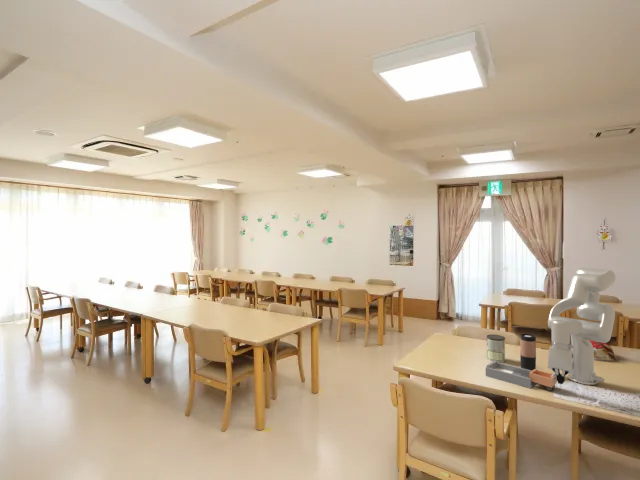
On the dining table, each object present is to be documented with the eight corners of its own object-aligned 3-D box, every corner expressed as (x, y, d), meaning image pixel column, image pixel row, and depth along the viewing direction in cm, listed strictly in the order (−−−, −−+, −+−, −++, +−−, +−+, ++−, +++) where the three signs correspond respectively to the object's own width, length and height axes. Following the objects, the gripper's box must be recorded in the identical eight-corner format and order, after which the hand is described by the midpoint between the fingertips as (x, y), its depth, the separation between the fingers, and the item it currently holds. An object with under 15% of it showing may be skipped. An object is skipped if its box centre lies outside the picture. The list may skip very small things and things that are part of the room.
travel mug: (517, 369, 202) (517, 334, 202) (526, 367, 204) (526, 333, 204) (529, 374, 195) (529, 337, 195) (539, 372, 197) (539, 336, 197)
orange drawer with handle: (556, 387, 177) (557, 372, 176) (551, 392, 171) (552, 376, 171) (534, 381, 184) (534, 366, 184) (528, 385, 179) (529, 369, 179)
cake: (622, 365, 208) (622, 348, 208) (571, 357, 222) (571, 341, 222) (617, 354, 228) (617, 338, 228) (570, 347, 241) (570, 333, 241)
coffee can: (484, 356, 224) (484, 334, 224) (501, 356, 223) (501, 334, 223) (490, 361, 214) (490, 338, 214) (508, 362, 213) (508, 339, 213)
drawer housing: (539, 381, 185) (539, 370, 185) (530, 388, 176) (530, 377, 176) (495, 369, 201) (495, 359, 201) (485, 375, 192) (485, 365, 192)
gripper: (581, 347, 169) (581, 385, 169) (545, 340, 180) (545, 376, 180) (577, 350, 164) (577, 390, 164) (540, 343, 175) (540, 380, 175)
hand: (560, 383), depth 172 cm, fingers closed
